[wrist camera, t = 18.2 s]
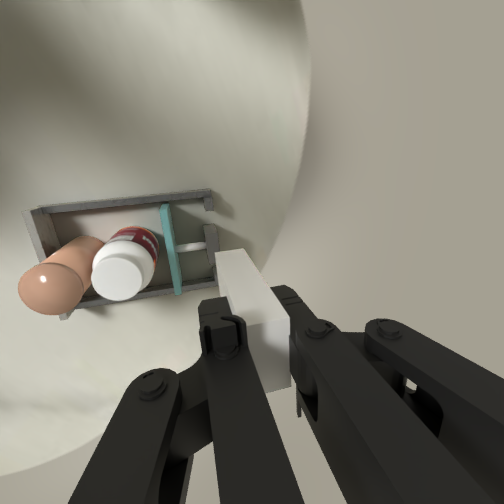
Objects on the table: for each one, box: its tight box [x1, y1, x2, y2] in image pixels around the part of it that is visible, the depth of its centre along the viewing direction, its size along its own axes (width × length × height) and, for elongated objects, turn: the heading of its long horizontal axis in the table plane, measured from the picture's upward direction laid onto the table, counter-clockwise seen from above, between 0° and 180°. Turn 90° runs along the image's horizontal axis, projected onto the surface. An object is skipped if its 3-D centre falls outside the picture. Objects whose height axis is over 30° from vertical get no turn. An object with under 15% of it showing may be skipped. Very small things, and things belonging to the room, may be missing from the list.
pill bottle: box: [91, 226, 160, 301], centre depth 32 cm, size 6×6×11 cm
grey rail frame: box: [22, 189, 219, 320], centre depth 36 cm, size 20×14×4 cm, turn 94°
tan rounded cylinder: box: [18, 236, 104, 315], centre depth 31 cm, size 5×5×11 cm
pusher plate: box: [159, 203, 220, 295], centre depth 36 cm, size 6×11×5 cm, turn 4°
